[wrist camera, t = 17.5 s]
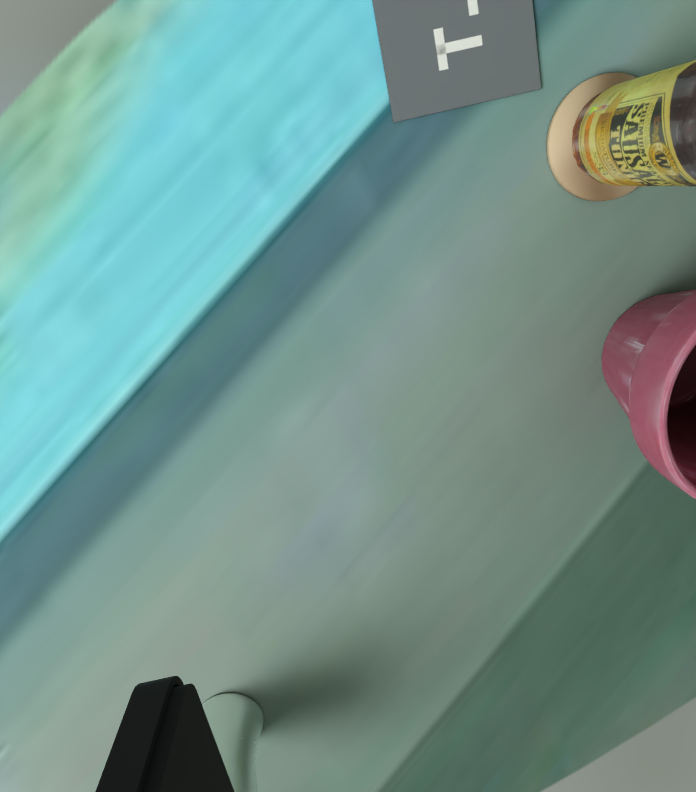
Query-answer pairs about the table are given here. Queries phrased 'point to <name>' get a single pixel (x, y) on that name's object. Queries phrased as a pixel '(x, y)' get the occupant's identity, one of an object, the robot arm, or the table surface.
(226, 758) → the beer glass
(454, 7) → the gray card
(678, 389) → the plant pot
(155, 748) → the robot arm
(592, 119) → the sauce bottle
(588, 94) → the coaster
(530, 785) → the table surface
